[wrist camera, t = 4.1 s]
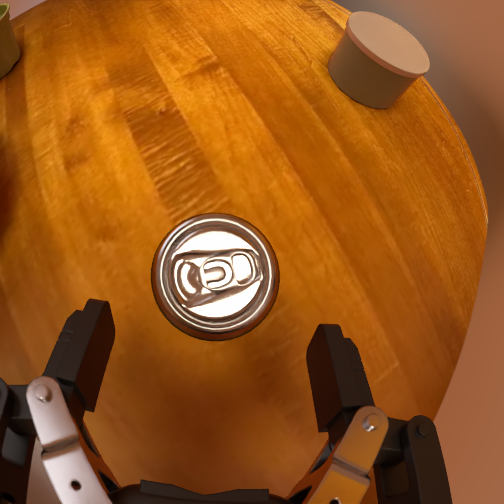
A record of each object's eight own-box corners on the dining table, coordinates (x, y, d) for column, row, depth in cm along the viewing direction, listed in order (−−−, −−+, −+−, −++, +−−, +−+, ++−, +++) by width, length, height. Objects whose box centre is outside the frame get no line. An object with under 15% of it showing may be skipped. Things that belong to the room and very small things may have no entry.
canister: (404, 81, 29) (433, 49, 23) (388, 125, 27) (424, 89, 21) (341, 40, 29) (362, 2, 22) (313, 77, 27) (335, 31, 20)
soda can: (172, 263, 22) (134, 219, 10) (237, 248, 23) (267, 192, 11) (187, 329, 21) (163, 358, 10) (253, 314, 22) (301, 325, 11)
